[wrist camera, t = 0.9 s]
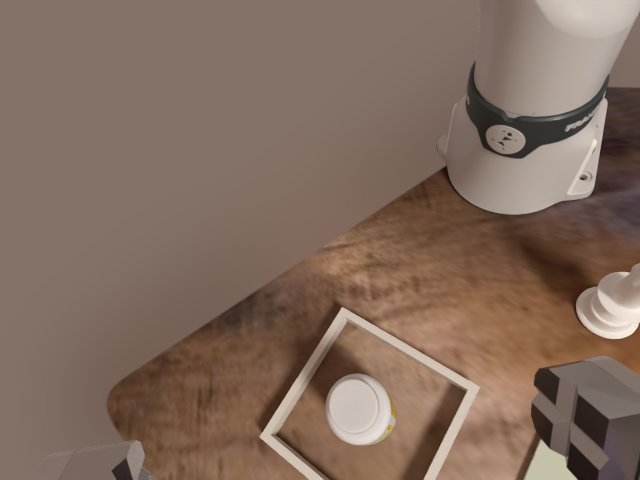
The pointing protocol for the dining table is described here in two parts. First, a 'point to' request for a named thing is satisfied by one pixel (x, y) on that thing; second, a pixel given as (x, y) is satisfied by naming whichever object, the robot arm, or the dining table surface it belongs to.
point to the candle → (612, 305)
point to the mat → (547, 465)
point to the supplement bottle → (360, 410)
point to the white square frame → (314, 362)
